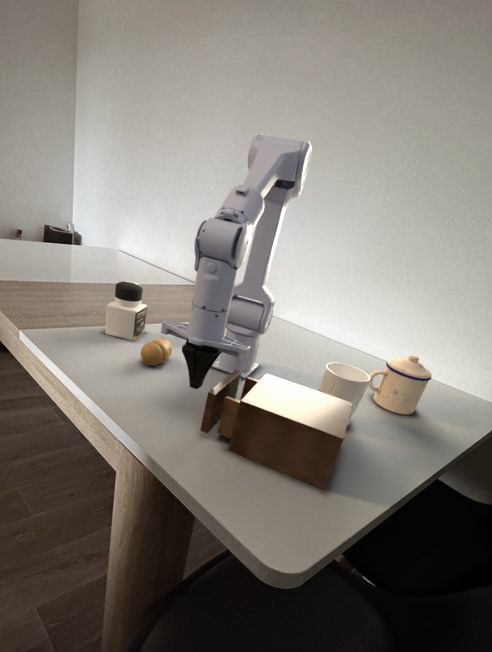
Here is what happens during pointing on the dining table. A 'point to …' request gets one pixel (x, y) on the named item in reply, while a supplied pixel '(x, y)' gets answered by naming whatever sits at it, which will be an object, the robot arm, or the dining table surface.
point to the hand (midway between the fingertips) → (195, 386)
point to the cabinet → (291, 429)
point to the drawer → (225, 404)
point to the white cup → (345, 383)
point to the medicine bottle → (126, 312)
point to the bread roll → (156, 351)
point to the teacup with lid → (401, 384)
